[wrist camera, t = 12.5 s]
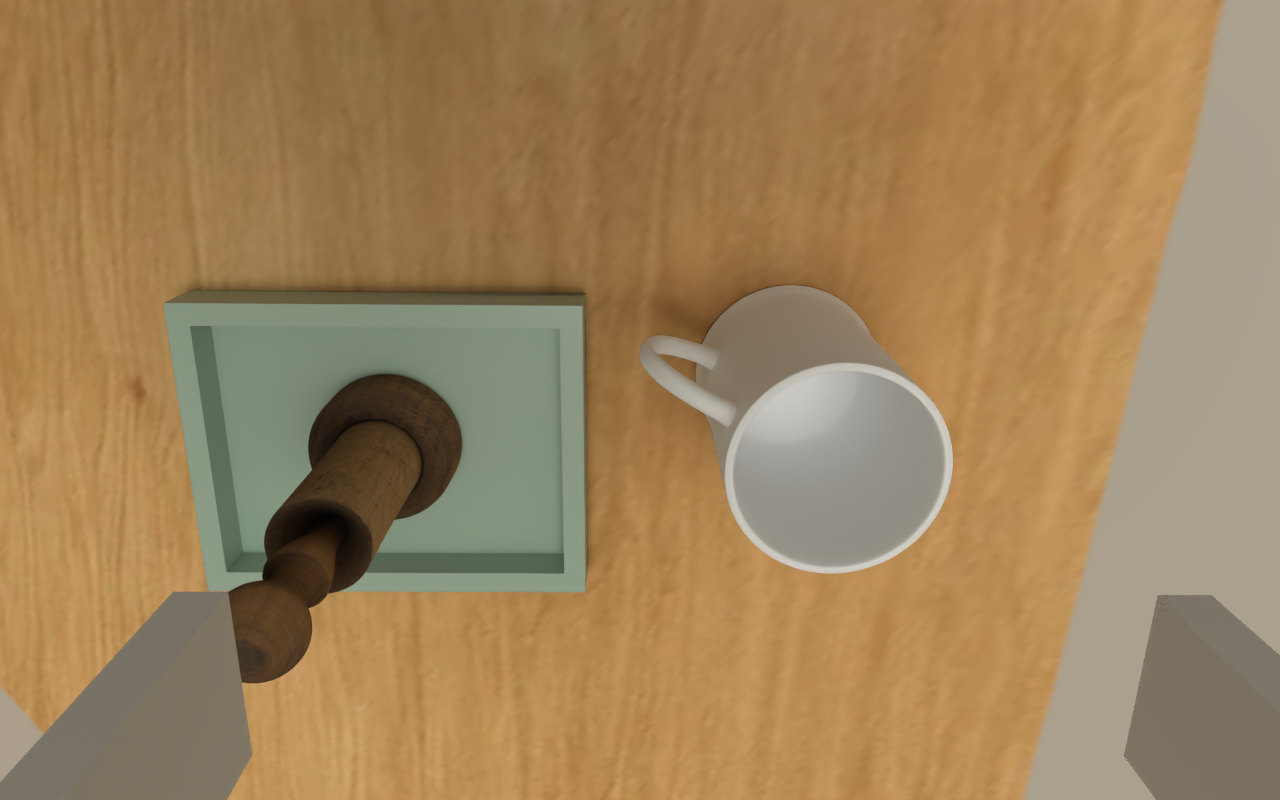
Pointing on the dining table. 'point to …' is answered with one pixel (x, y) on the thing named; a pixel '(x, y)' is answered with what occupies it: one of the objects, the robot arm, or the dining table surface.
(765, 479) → the mug
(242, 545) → the tray
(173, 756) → the robot arm
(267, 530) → the wooden pepper mill
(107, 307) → the dining table surface
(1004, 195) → the dining table surface
